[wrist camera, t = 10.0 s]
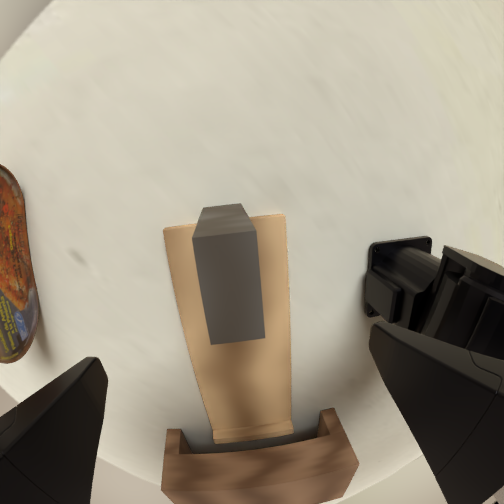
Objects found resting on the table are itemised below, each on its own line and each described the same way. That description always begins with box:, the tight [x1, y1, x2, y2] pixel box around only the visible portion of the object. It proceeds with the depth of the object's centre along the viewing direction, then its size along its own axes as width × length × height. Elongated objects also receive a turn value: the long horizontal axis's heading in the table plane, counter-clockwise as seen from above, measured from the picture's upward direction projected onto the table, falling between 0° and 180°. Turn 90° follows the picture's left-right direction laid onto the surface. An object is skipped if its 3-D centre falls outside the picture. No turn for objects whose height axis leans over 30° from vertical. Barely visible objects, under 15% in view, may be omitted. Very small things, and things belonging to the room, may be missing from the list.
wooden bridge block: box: [161, 408, 359, 504], centre depth 23 cm, size 18×10×8 cm, turn 95°
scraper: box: [163, 203, 294, 444], centre depth 18 cm, size 8×22×8 cm, turn 5°
